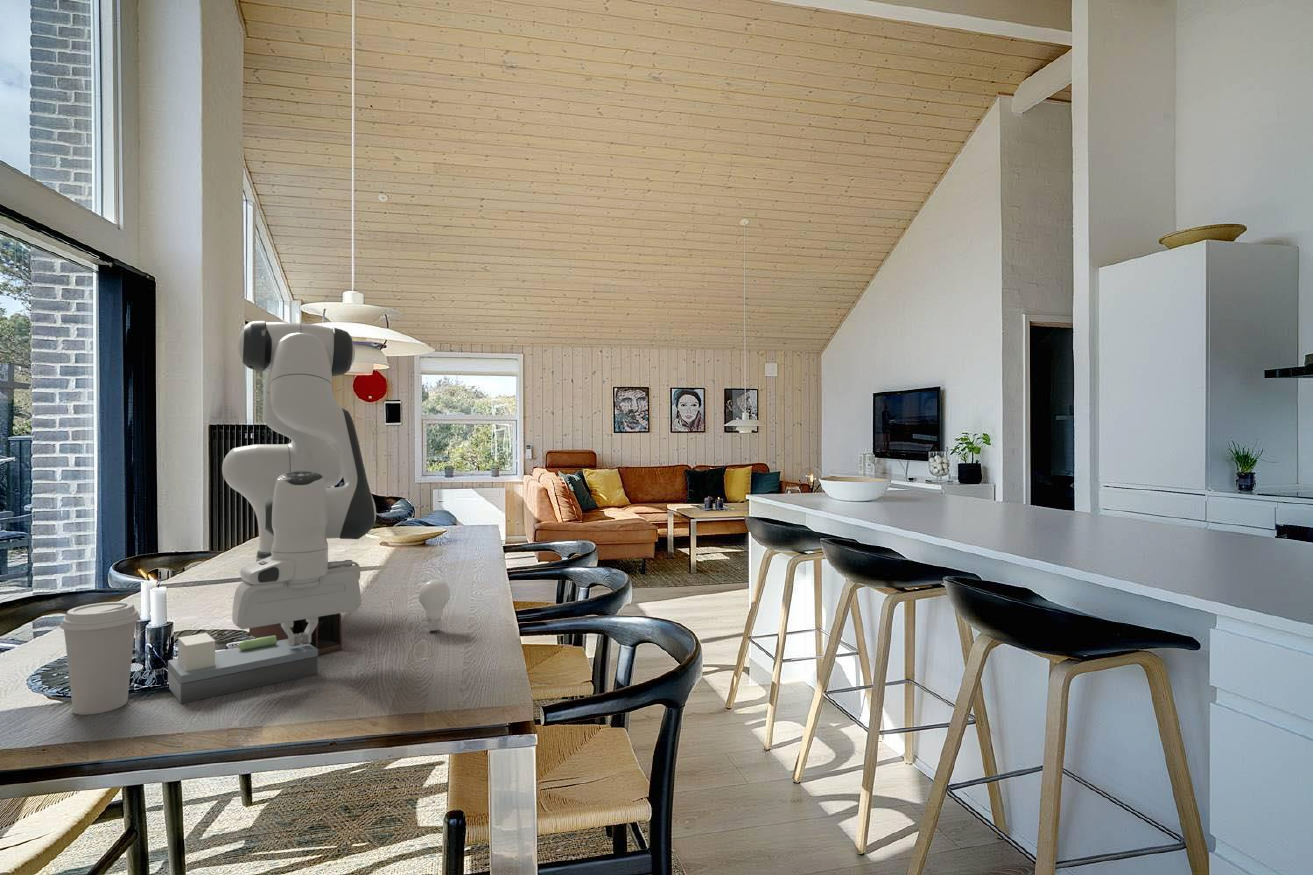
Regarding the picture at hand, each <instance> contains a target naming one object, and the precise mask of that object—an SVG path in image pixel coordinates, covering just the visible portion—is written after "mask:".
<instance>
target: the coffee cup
mask: <svg viewBox="0 0 1313 875" xmlns="http://www.w3.org/2000/svg"><path fill="white" fill-rule="evenodd" d="M140 618H141V616H140V612H139V611H138V609H136V608H135V605H134V603H133V602H131V601H130V602H128V601H109V602H108V601H107V602H106V601H105V602H97V603H91V604H86V605H80V606H77V607H73V608H71V609H69V610H67V612H66V615H65V617H64V618H62V619H61V621H60V625H59V628H60V629H62V630H63V632H64V641H65V651H66V659H67V667H68V668H67V669H68V678H69V687H70V697H71V698H70V699H71V707H72V713H73V714H75V715H80V716H81V715H82V716H85V715H86V716H88V715H98V714H103V713H107V712H108V713H109V712H111V711H115V710H118V709H120V708H122V707H123V706H125V705H127V703H128V698H129V689H130V677H131V670H132V661H133V650H134V643H135V642H134V641H135V634H136V624H137V621H138V620H139V619H140Z"/></svg>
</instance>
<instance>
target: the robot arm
mask: <svg viewBox="0 0 1313 875" xmlns="http://www.w3.org/2000/svg"><path fill="white" fill-rule="evenodd" d="M238 336H239V337H238V340H237V351H238V354H239V357H240V358H241V360H242V364H243V365H245V367H247V368H248V369H250V370H254V371H257V372H262V373H264V371H265V372H266V373H265V381H264V394H263V408H262V419H263V421H264V423H265V425H266V426H267V427H268V428H269V429H271V430H272V431H274V433H275V432H276V433H277V434H280V435H282V436H284V437H287V438H288V439H290V442H289V443H286V444H285V443H284V444H281V443H280V444H278V443H277V444H276V443H275V444H273V443H271V444H269V443H267V444H265V443H264V444H263V443H262V444H258V443H256V444H250V445H242V446H238V447H233V448H232V449H230V451H229V452H228V453H227V454H225V457H224V459H223V461H222V464H221V465H222V466H221V472H222V473H221V474H222V477H223V480H224V481H225V482H226V484H227V485H228V486H229V487H230V488H231V489H232V490H234V491H235V492H237V493H239V494H240V495H241V496H242V497H244V498H245V499H246V500H247V501H248V502H249V504H250V505H251V507H252V509H253V511H254V514H255V517H256V521H257V526H258V550H257V552H256V556H255V560H256V561H254V562H252V563H249V564H247V565H244V566H243V567H241V569H240V570H239V572H240V574H239V576H240V578H241V579H242V582H241V583H239V584H238V586H237V587H236V589H235V591H234V595H233V596H234V597H233V602H232V603H233V604H232V611H231V612H232V614H231V617H232V618H231V620H232V623H233V624H234V626H236V627H237V628H239V629H240V630H247V629H248V630H249V628H254V627H260V626H266V625H272V624H278V623H281V627H282V628H283V630H284V631H285V633H286V634H287V635H288V645H289V646H290V647H293V646H298V645H300V644H301V645H303V644H309V643H311V633H313V631H314V629H315V628H316V626H317V624H318V617H320V616H326V615H332V614H338V613H341V614H344V613H350V612H356V611H357V610H358V609H359V608H360V606H361V605H362V594H361V588H360V582H359V580H360V579H361V567H360V564H359V563H358V562H356V561H353V560H352V559H345V560H339V561H337V560H335V561H329V543H328V540H329V539H341V540H360V539H361V538H362V537H364V536H365V535H367V534H369V532H370V531H371V530H372V529H373V528H374V527H375V523H376V519H377V507H376V503H375V500H374V498H373V495H372V492H371V489H370V485H369V480H368V478H367V474H366V470H365V469H366V468H365V464H364V460H363V455H362V452H361V447H360V442H359V438H358V434H357V430H356V427H355V424H354V423H355V422H354V420H353V418H352V416H351V414H350V412H349V411H348V410H347V409H345V408H342V407H341V405H340V404H339V403H338V402H337V400H336V397H335V395H334V392H333V377H337V376H343V375H346V374H347V373H349V371H350V370H351V367H352V365H353V364H354V362H355V357H356V349H355V345H354V341H353V337H352V336H351V334H349V332H348V331H346V330H343V329H341V328H338V327H334V326H333V327H331V328H330V327H326V326H322V325H318V324H317V325H316V324H311V323H303V322H300V323H296V322H279V321H278V322H277V321H276V322H275V321H274V322H273V321H271V322H270V321H269V322H267V321H266V320H255V321H254V320H253V321H250V322H247V324H246V325H244V326H243V329H242V330H241V332H240V334H239V335H238ZM342 479H343V481H344V485H341V486H337V485H338V484H339V483H340V482H341V481H342ZM334 486H336V487H334ZM327 539H328V540H327ZM302 619H306V622H308V625H307V627H306V629H305V631H304V632H302V633H299V635H298V634H293V632H292V631H291V629H290V628H291V627H293V621H296V620H302Z"/></svg>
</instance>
